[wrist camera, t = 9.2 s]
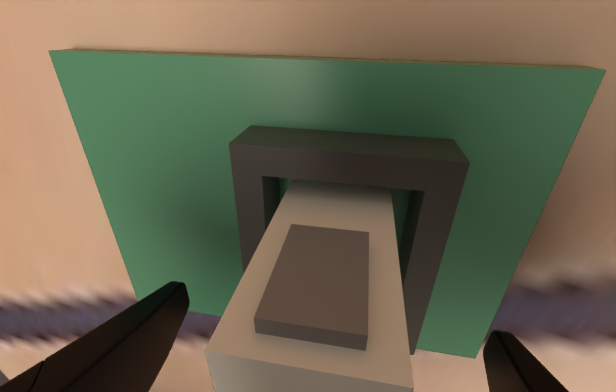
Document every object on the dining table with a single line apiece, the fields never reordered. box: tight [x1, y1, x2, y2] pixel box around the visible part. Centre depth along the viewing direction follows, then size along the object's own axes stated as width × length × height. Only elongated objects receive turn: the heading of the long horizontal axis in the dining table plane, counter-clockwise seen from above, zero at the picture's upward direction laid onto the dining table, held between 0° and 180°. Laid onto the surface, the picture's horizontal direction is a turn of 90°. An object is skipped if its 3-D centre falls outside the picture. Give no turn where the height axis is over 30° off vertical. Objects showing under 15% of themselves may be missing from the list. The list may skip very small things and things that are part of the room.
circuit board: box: [49, 49, 606, 358], centre depth 13 cm, size 13×18×3 cm
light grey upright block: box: [205, 179, 414, 392], centre depth 9 cm, size 5×4×8 cm, turn 179°
